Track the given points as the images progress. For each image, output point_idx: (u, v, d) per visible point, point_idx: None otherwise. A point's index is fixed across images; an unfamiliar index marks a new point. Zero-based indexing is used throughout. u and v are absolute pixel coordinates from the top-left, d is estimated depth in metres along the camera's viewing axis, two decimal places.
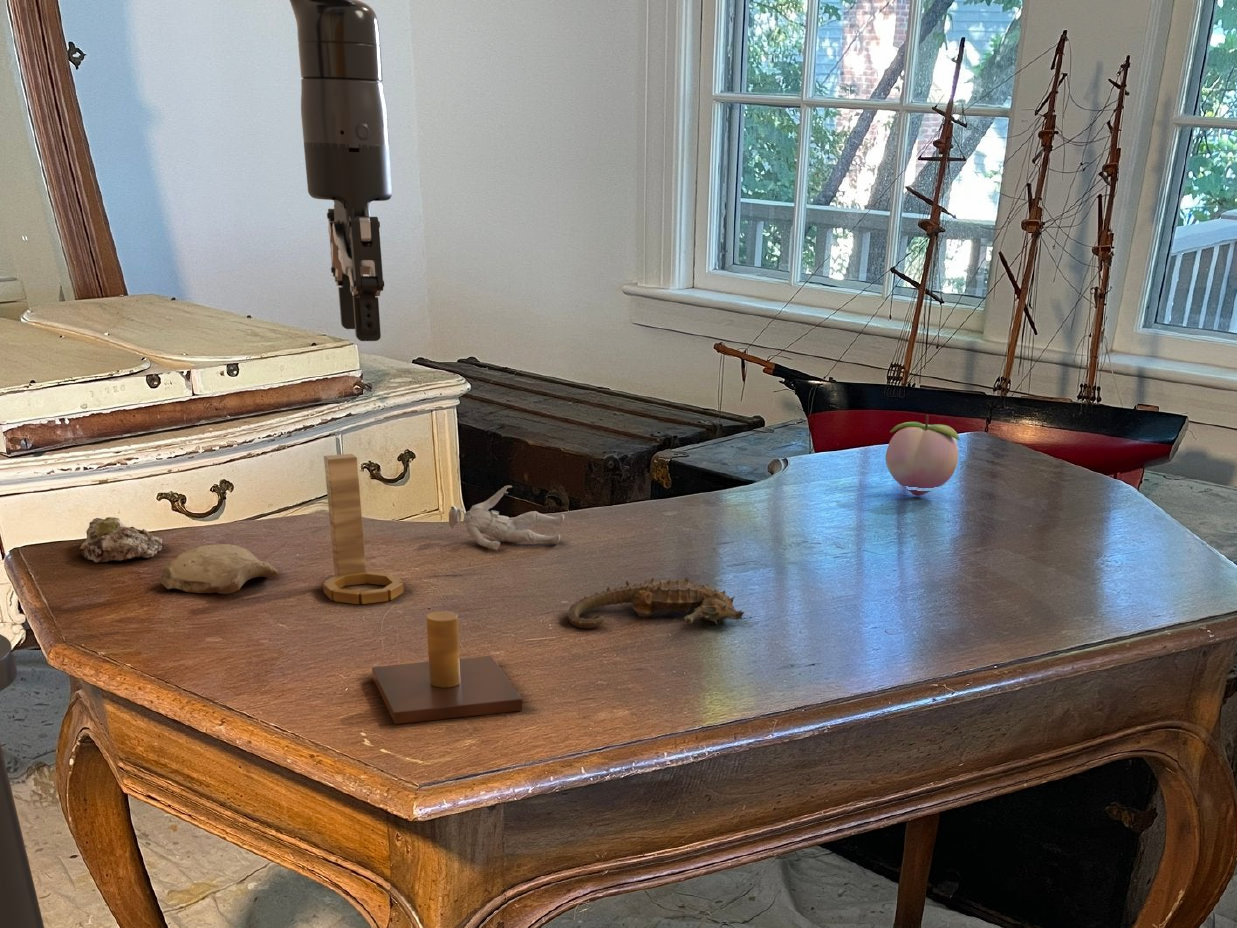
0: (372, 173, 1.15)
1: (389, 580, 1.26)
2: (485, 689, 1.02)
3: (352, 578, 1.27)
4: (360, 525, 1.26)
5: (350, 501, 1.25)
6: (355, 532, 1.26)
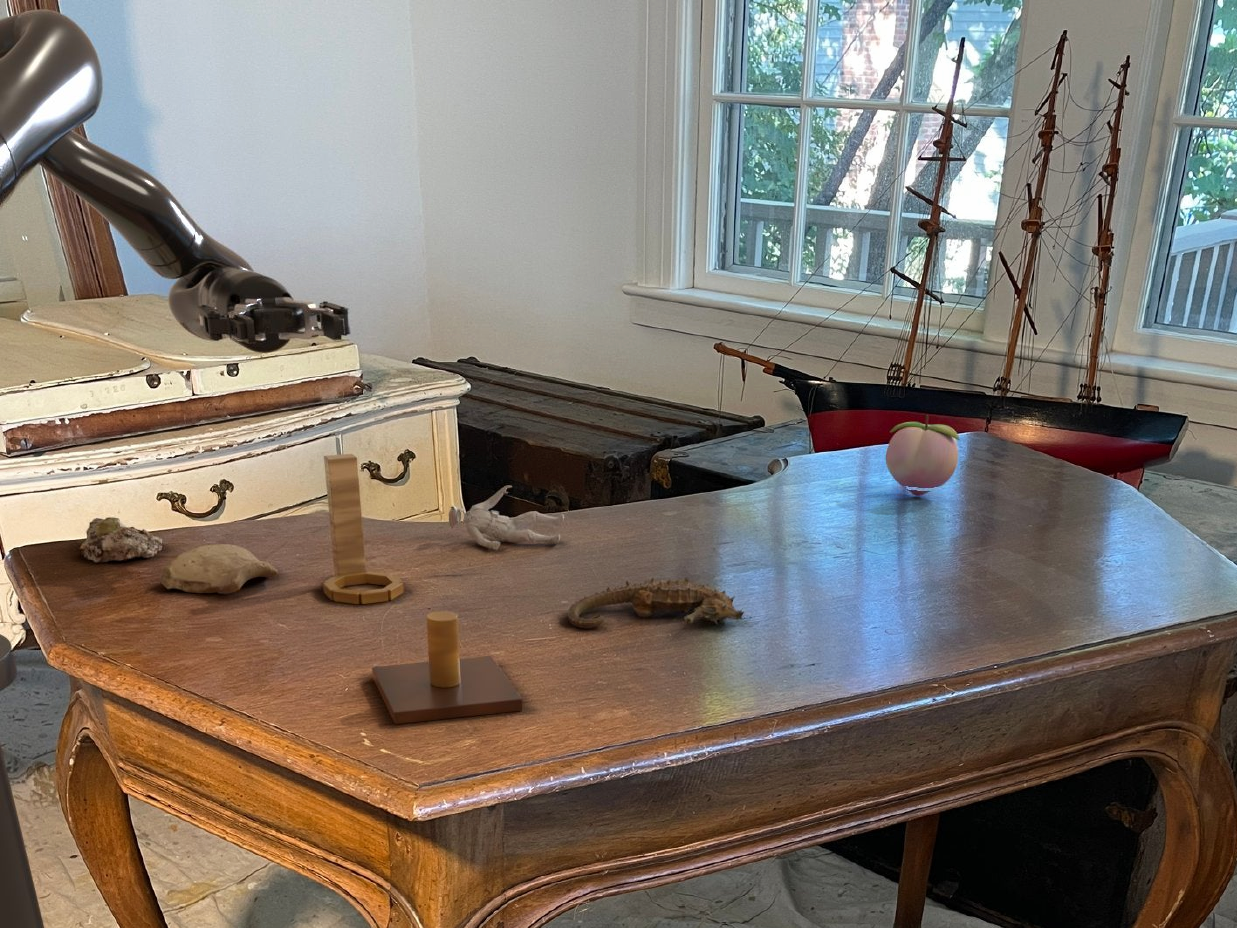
0: None
1: (389, 580, 1.26)
2: (485, 689, 1.02)
3: (352, 578, 1.27)
4: (360, 525, 1.26)
5: (350, 501, 1.25)
6: (355, 532, 1.26)
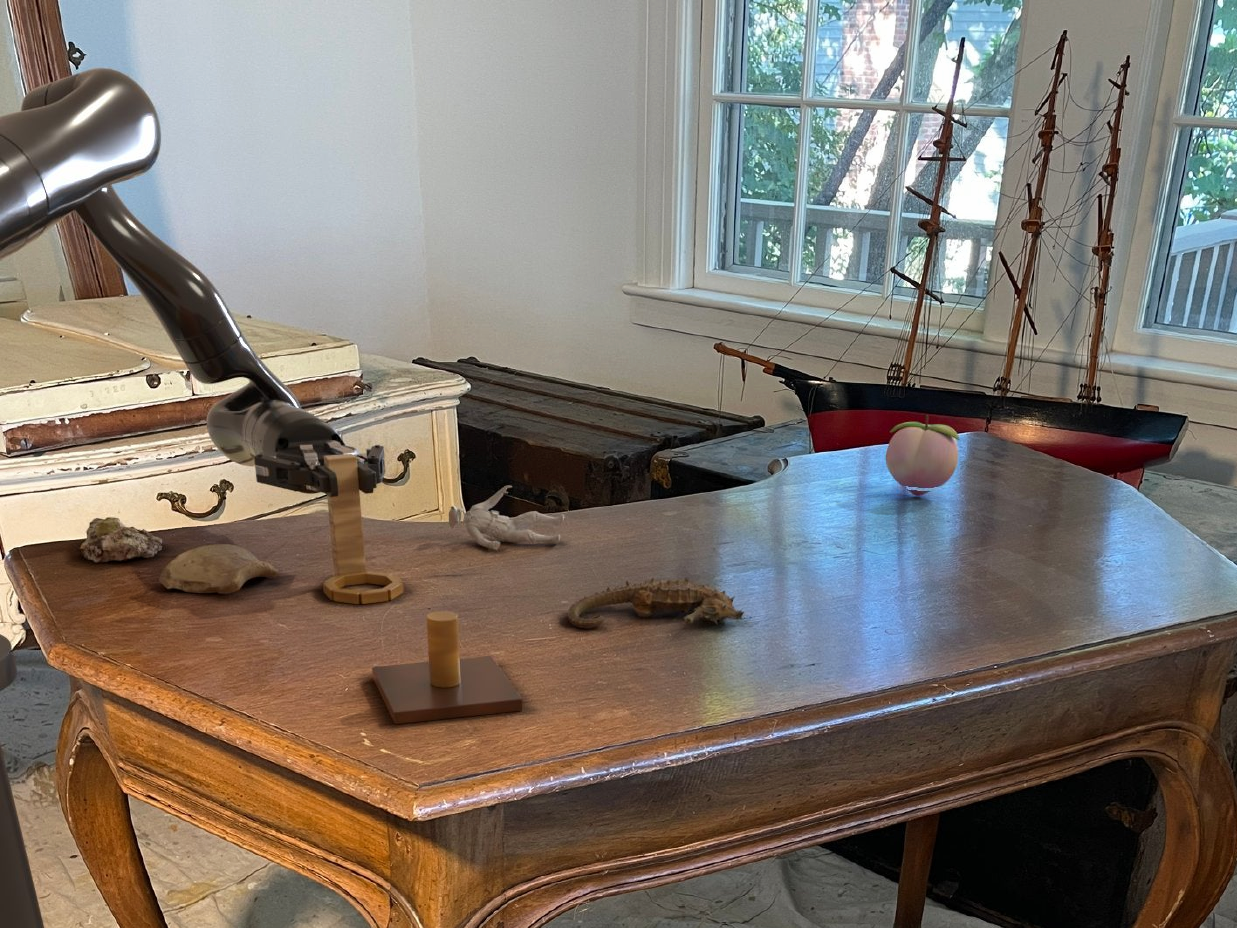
0: None
1: (389, 580, 1.26)
2: (485, 689, 1.02)
3: (352, 578, 1.27)
4: (360, 525, 1.26)
5: (350, 501, 1.25)
6: (354, 532, 1.26)
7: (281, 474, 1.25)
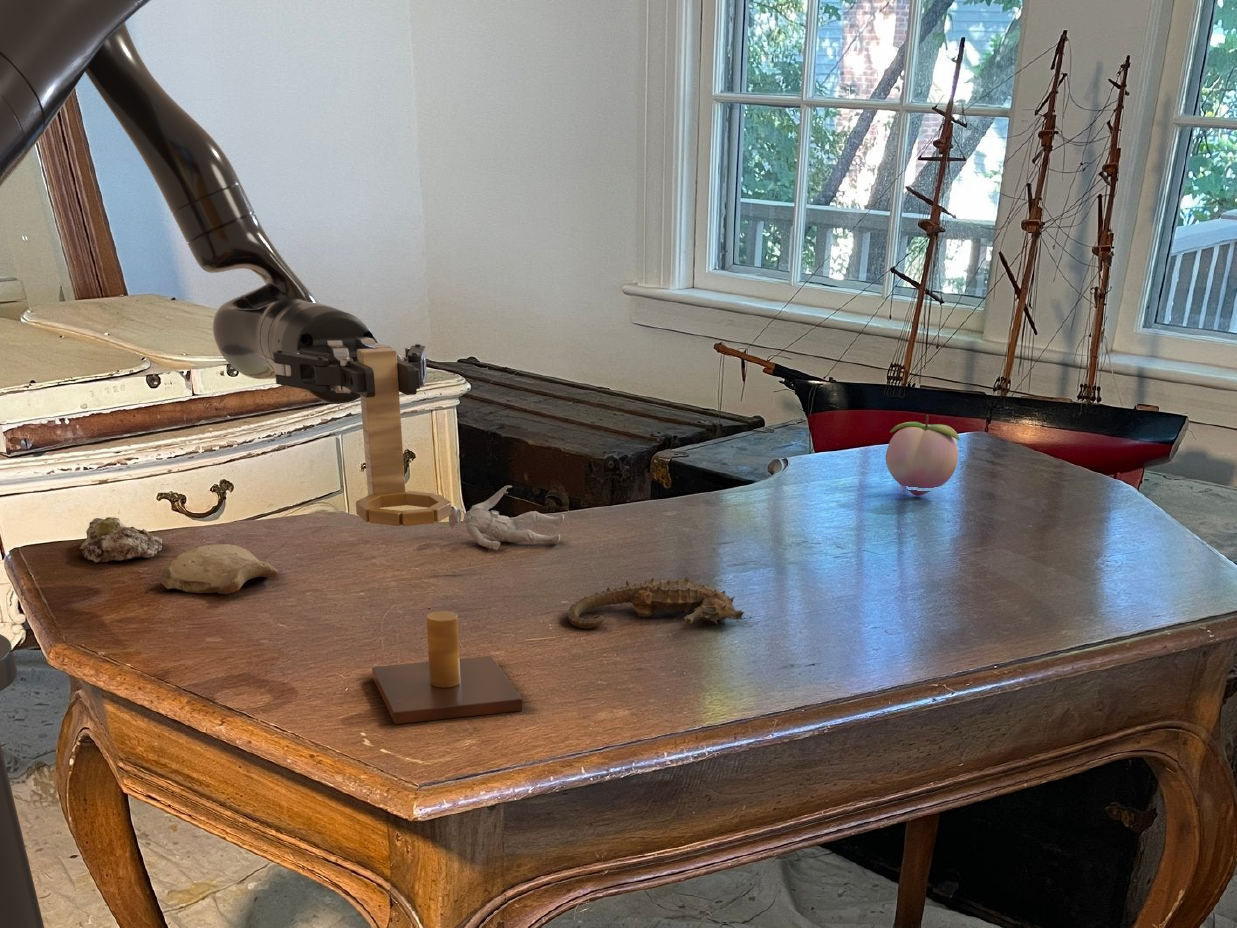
0: None
1: (434, 500, 1.06)
2: (485, 689, 1.02)
3: (389, 498, 1.07)
4: (399, 435, 1.06)
5: (388, 405, 1.05)
6: (393, 443, 1.06)
7: (306, 373, 1.05)
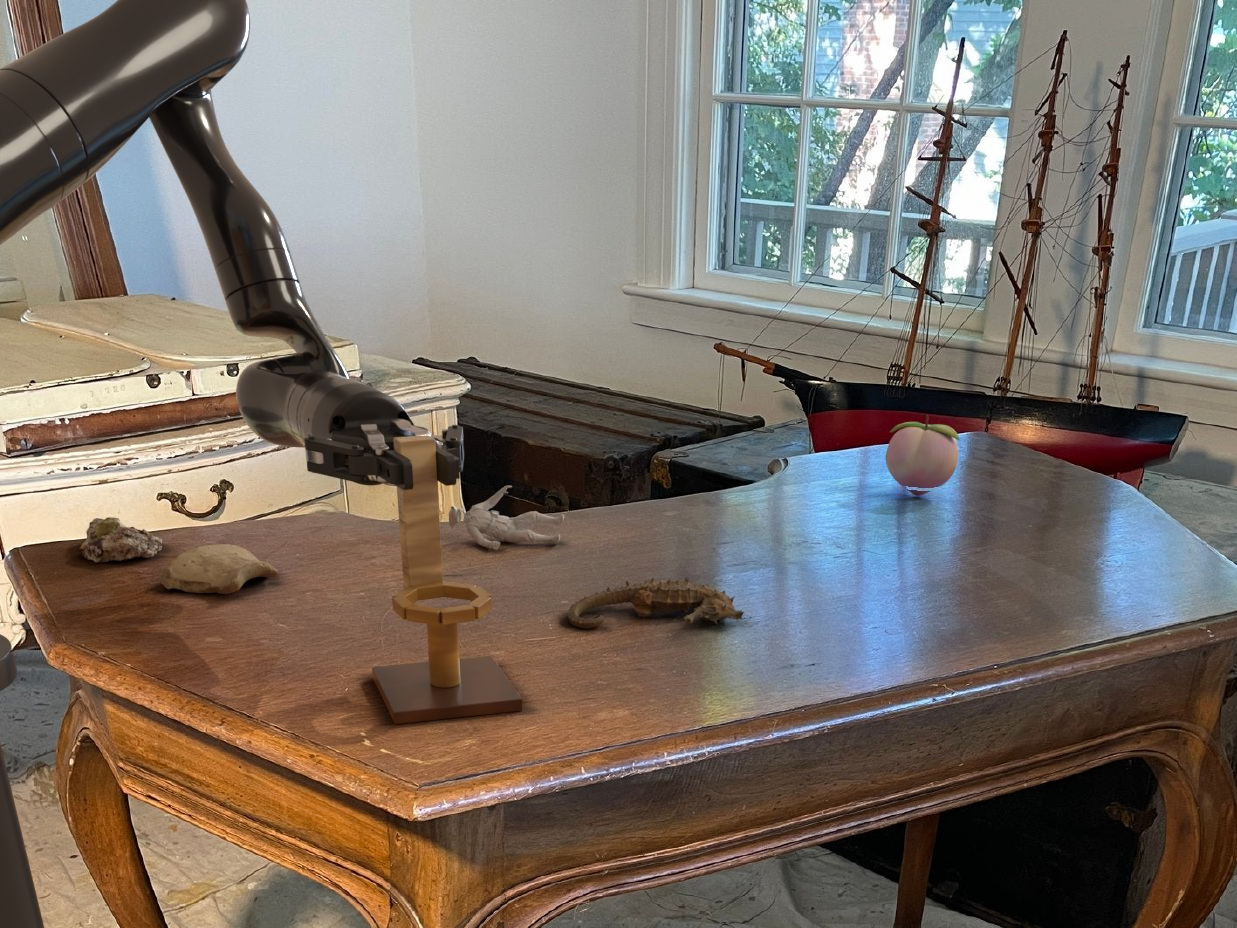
0: None
1: (473, 593, 1.01)
2: (485, 689, 1.02)
3: (427, 591, 1.02)
4: (437, 525, 1.01)
5: (426, 494, 0.99)
6: (430, 534, 1.01)
7: (339, 461, 0.99)
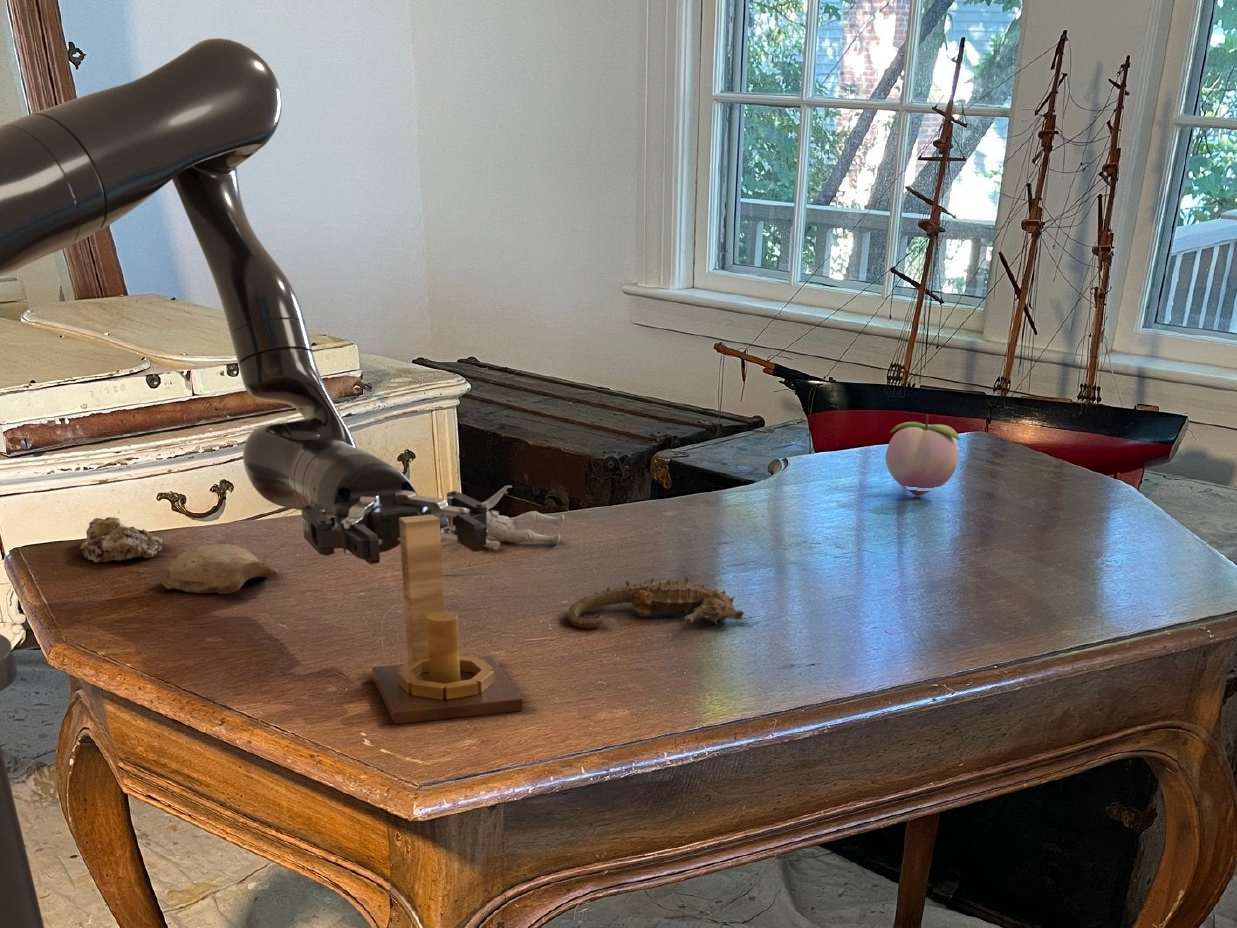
0: None
1: (476, 667, 1.04)
2: None
3: None
4: (441, 600, 1.04)
5: (430, 571, 1.02)
6: (434, 609, 1.04)
7: None
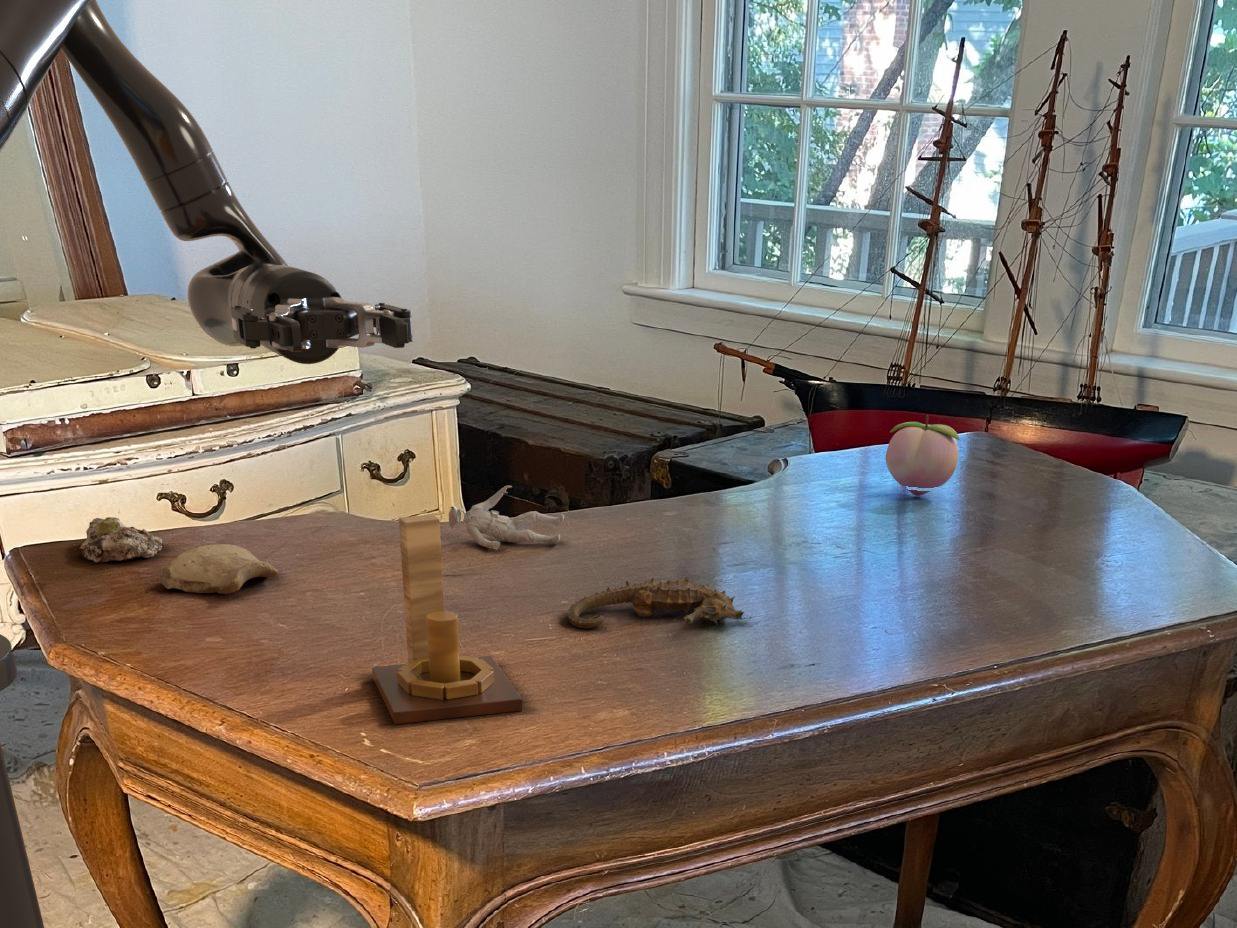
0: None
1: (476, 667, 1.04)
2: None
3: None
4: (441, 600, 1.04)
5: (430, 571, 1.02)
6: (434, 609, 1.04)
7: None
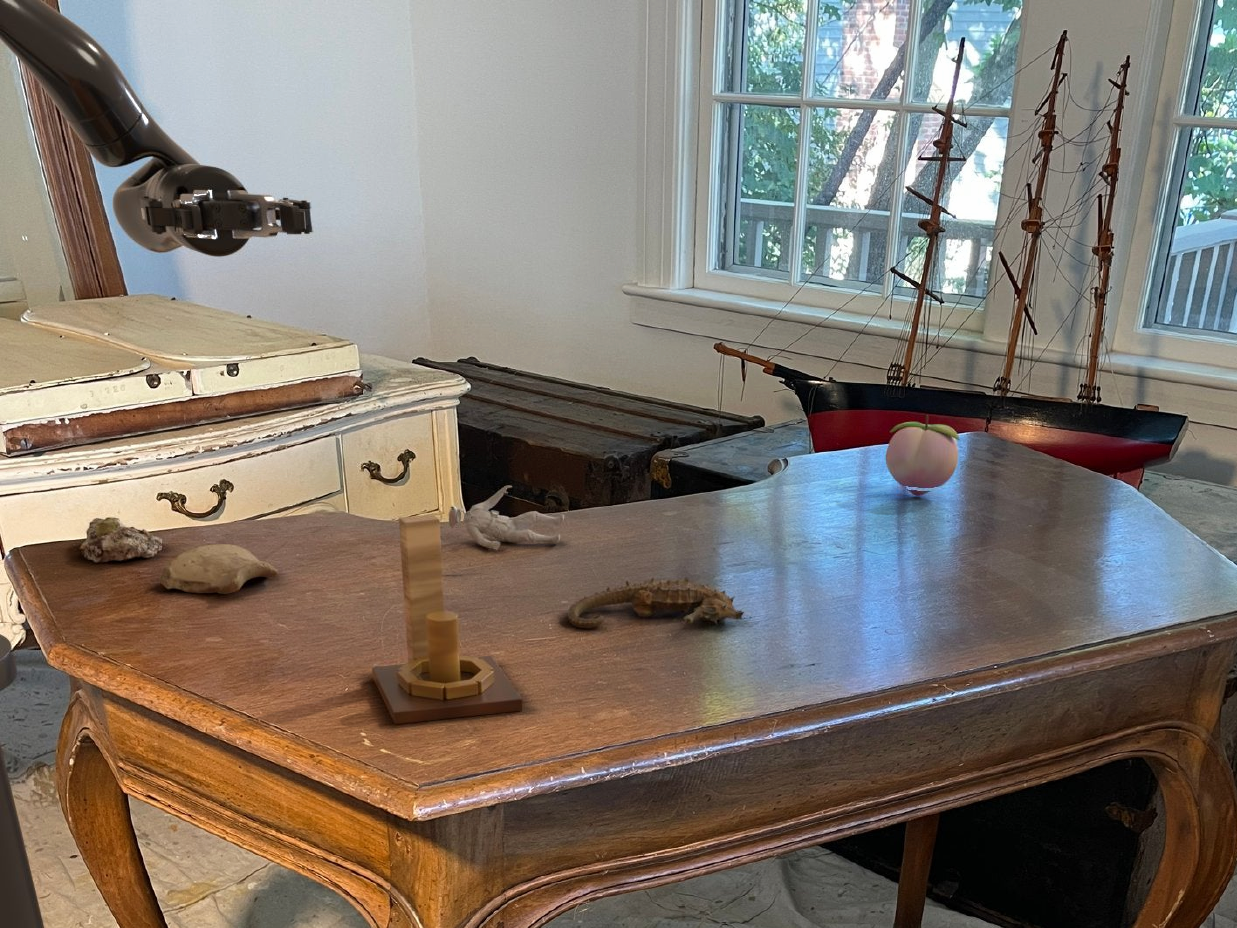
0: None
1: (476, 667, 1.04)
2: None
3: None
4: (441, 600, 1.04)
5: (430, 571, 1.02)
6: (434, 609, 1.04)
7: None
